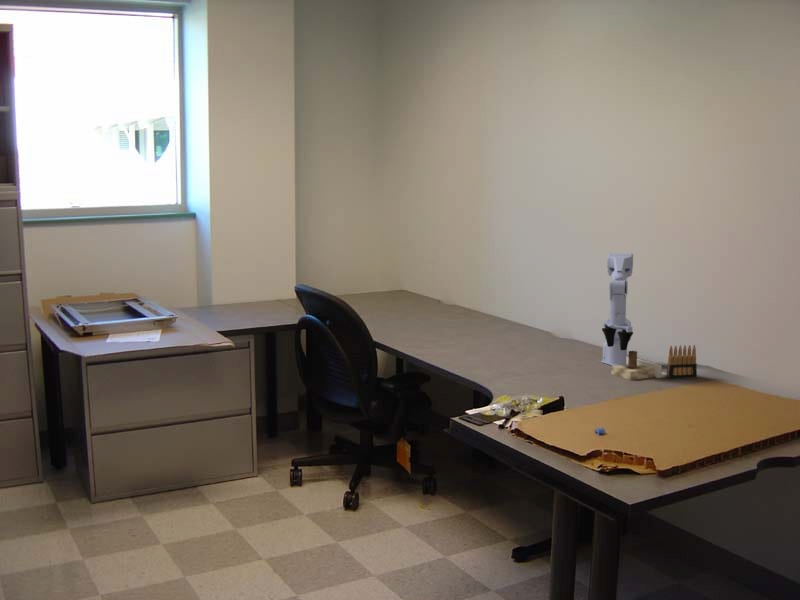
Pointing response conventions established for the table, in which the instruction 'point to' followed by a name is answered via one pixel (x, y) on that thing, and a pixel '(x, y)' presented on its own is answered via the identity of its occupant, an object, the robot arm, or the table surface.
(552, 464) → the table surface
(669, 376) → the ammunition clip
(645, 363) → the white rectangular slab
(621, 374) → the block
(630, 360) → the dowel
